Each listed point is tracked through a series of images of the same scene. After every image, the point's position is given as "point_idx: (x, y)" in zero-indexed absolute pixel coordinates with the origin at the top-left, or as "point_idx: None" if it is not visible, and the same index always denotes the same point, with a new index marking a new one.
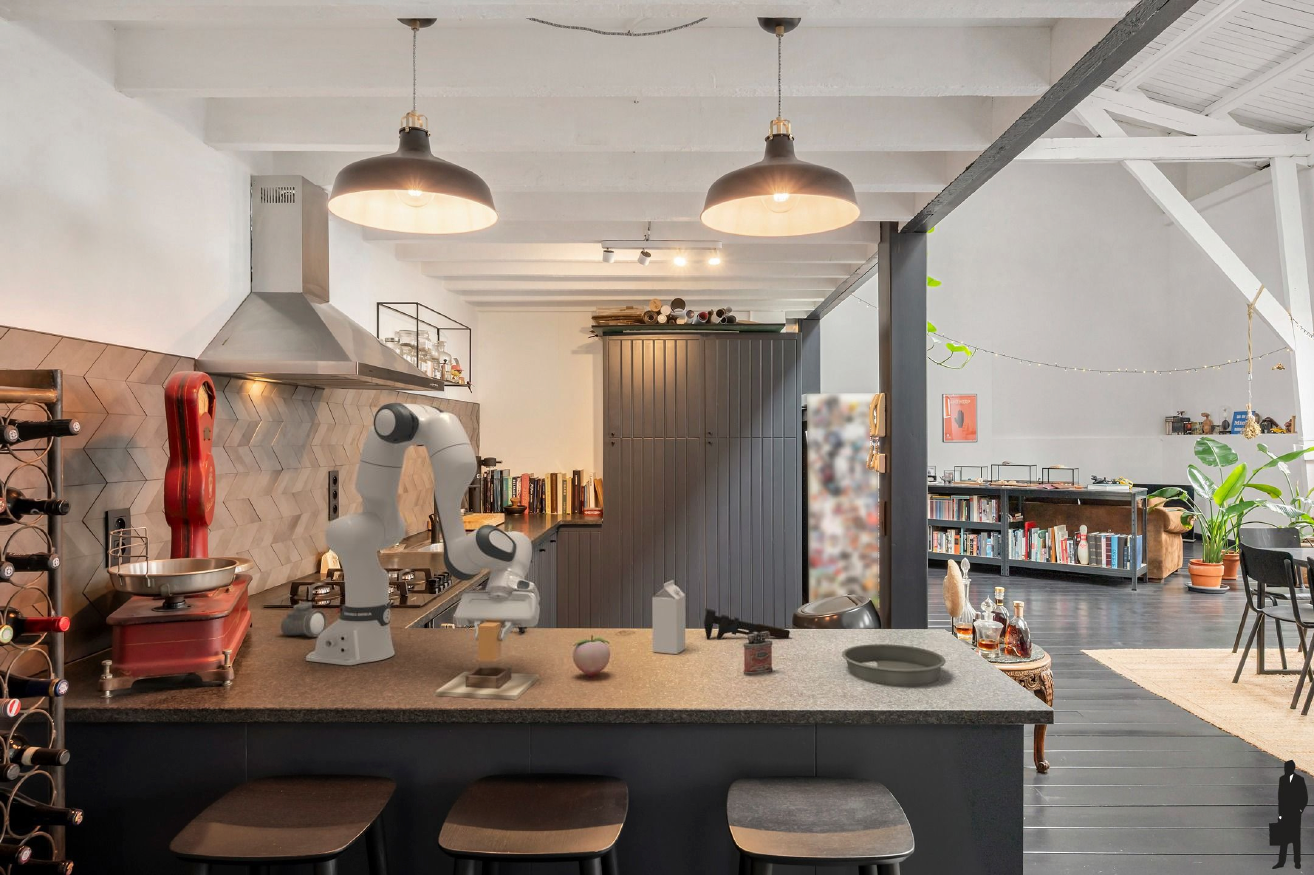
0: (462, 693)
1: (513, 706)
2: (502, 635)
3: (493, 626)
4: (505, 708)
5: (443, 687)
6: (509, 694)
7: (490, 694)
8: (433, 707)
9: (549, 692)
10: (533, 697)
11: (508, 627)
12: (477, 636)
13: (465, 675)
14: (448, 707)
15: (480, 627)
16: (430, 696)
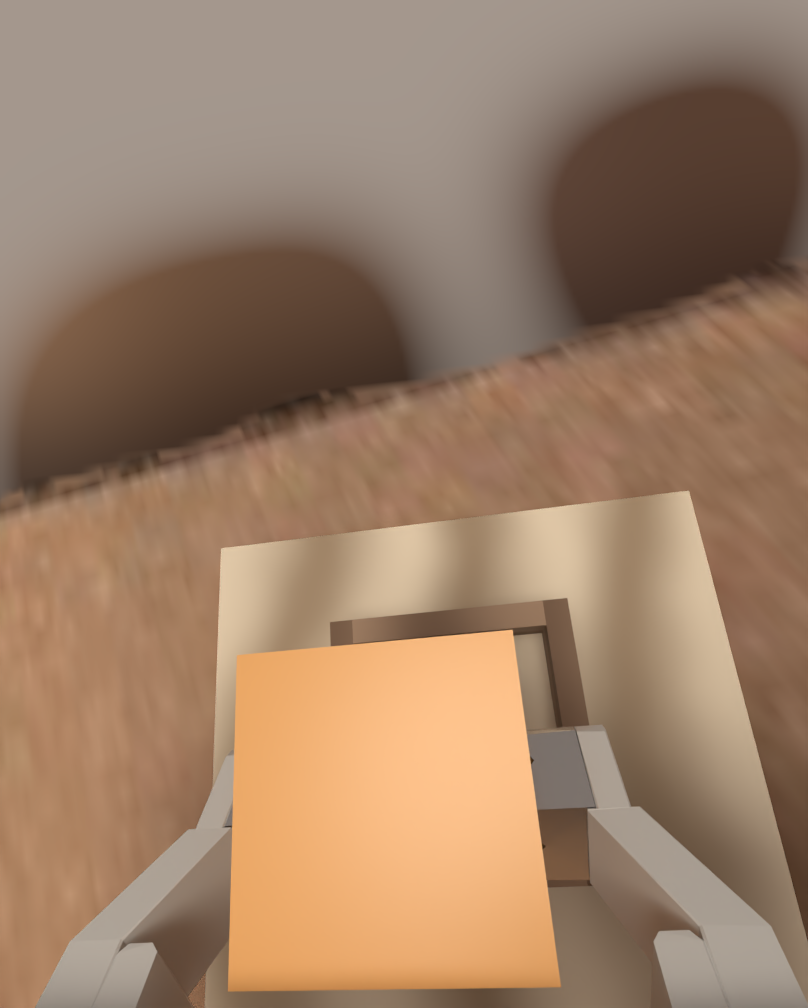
0: (519, 514)
1: (216, 469)
2: (228, 771)
3: (254, 656)
4: (241, 437)
5: (693, 567)
6: (257, 550)
7: (357, 532)
8: (570, 353)
9: (99, 714)
10: (160, 613)
11: (119, 902)
12: (567, 730)
13: (734, 881)
14: (499, 374)
15: (472, 638)
16: (704, 485)
